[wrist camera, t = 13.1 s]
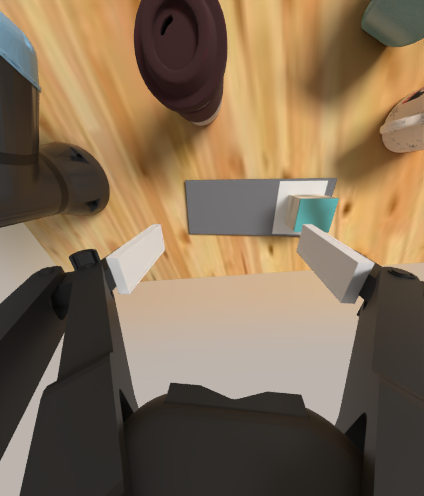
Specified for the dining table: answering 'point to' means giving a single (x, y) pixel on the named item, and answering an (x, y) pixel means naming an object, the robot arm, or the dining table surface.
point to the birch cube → (310, 211)
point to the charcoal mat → (247, 204)
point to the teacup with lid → (405, 124)
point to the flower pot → (394, 21)
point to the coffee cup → (183, 55)
